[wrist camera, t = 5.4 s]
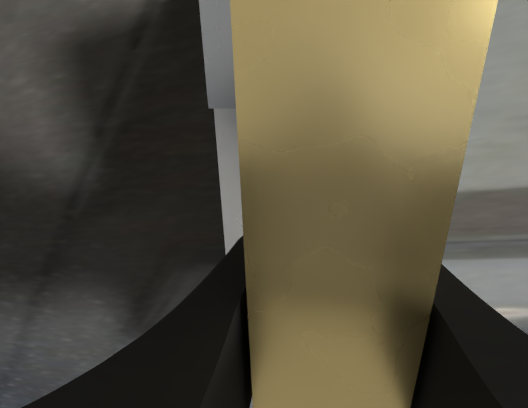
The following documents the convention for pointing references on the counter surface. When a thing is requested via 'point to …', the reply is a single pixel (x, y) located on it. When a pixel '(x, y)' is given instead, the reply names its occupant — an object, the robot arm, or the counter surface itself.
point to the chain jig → (223, 110)
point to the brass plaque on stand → (349, 186)
